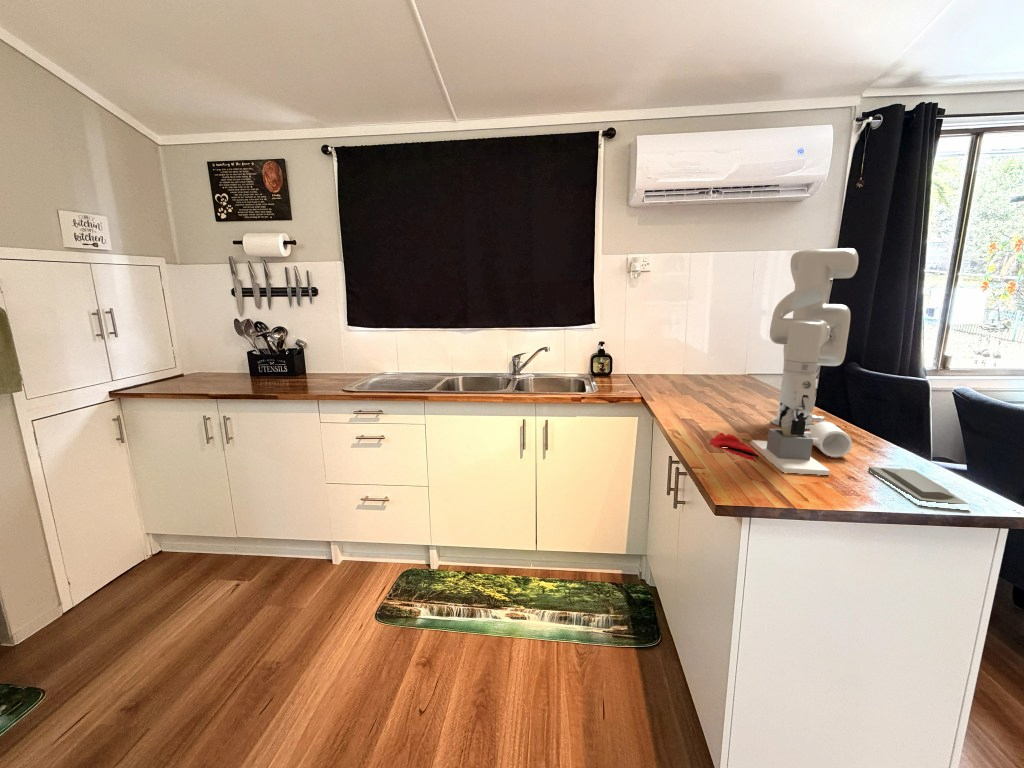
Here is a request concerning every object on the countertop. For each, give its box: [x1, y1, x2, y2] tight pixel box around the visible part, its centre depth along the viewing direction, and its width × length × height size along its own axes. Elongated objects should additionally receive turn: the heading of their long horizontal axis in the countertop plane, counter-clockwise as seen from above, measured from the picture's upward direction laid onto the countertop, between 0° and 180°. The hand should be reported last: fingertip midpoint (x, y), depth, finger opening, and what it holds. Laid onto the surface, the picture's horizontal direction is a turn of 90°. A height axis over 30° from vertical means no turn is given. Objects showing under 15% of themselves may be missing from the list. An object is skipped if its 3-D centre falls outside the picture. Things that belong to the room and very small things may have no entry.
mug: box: [804, 421, 853, 458], centre depth 131 cm, size 12×10×8 cm
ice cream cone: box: [781, 408, 798, 437], centre depth 123 cm, size 5×5×15 cm
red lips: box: [709, 431, 759, 462], centre depth 136 cm, size 26×14×2 cm, turn 163°
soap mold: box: [867, 466, 971, 506], centre depth 106 cm, size 10×20×4 cm, turn 167°
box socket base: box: [750, 428, 831, 476], centre depth 124 cm, size 11×22×8 cm, turn 172°
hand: (790, 429), depth 123 cm, fingers open, 6 cm apart
